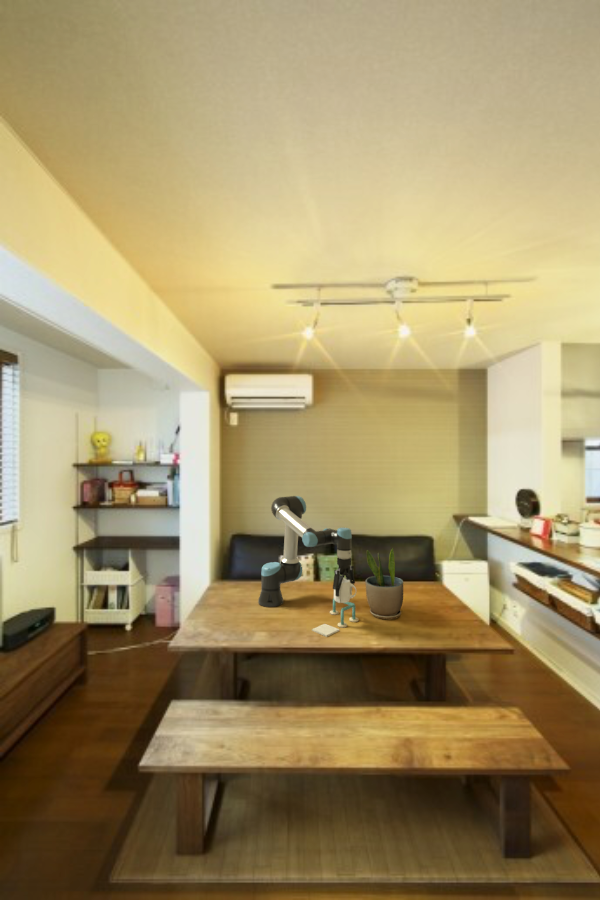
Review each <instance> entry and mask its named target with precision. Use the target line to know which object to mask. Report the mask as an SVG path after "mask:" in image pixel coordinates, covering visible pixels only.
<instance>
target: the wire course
mask: <svg viewBox="0 0 600 900" xmlns="http://www.w3.org/2000/svg"><path fill="white" fill-rule="evenodd" d="M336 604H337V602H336V601H335V600H334V598H332V609H331V610H330V611H329V614H330V615H332V616H337V615H339V614H340V622H338V623H337V628H338V627H339V629H340V628H343V629H344V628H347V627H348V624H347V623H346V622H345V612H346V611H347V610H350V609H351V610H352V612H351V613H352V616H351V617H349V619H348V621H349V622H351V623H358V622H359V617H356V604H355V602H351V601H349V602H346V603H344V605H347V606H344V607H342V608H341V610H340V613H339V611H338V610H337V607H336V606H337V605H336Z"/></svg>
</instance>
